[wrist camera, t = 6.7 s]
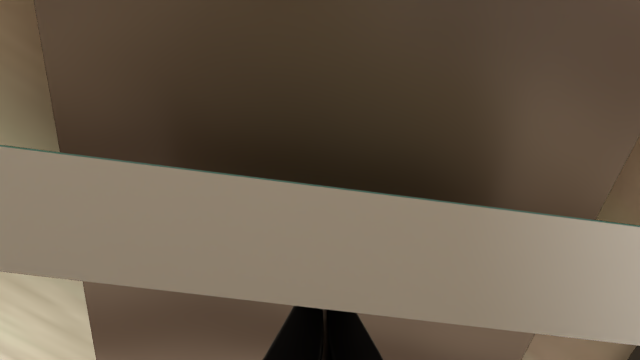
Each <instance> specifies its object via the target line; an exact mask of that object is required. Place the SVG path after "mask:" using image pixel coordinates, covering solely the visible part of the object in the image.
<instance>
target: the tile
mask: <svg viewBox="0 0 640 360" xmlns="http://www.w3.org/2000/svg"><path fill="white" fill-rule="evenodd" d="M0 272H9V273H18V274H26V275H35V276H44V277H52V278H61V279H69V280H78V281H87V282H95V283H104V284H112V285H121V286H130V287H138V288H147V289H155V290H164V291H173V292H181V293H190V294H199V295H207V296H216V297H224V298H233V299H242V300H250V301H259V302H267V303H276V304H285V305H293V306H302V307H311V308H319V309H328V310H336V311H345V312H354V313H362V314H371V315H379V316H388V317H397V318H405V319H414V320H423V321H431V322H440V323H448V324H457V325H466V326H474V327H483V328H491V329H500V330H509V331H517V332H526V333H534V334H543V335H552V336H560V337H569V338H578V339H586V340H595V341H603V342H612V343H621V344H629V345H638V346H640V226H639V225H631V224H623V223H615V222H607V221H599V220H591V219H583V218H575V217H567V216H559V215H551V214H543V213H536V212H528V211H520V210H512V209H504V208H496V207H488V206H480V205H472V204H464V203H456V202H448V201H440V200H433V199H425V198H417V197H409V196H401V195H393V194H385V193H377V192H369V191H361V190H353V189H345V188H337V187H330V186H322V185H314V184H306V183H298V182H290V181H282V180H274V179H266V178H258V177H250V176H242V175H234V174H227V173H219V172H211V171H203V170H195V169H187V168H179V167H171V166H163V165H155V164H147V163H139V162H131V161H123V160H116V159H108V158H100V157H92V156H84V155H76V154H68V153H60V152H52V151H44V150H36V149H28V148H20V147H13V146H5V145H0Z"/></svg>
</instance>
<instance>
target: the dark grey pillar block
mask: <svg viewBox="0 0 640 360" xmlns="http://www.w3.org/2000/svg"><path fill="white" fill-rule="evenodd" d="M628 360H640V346H637V347H636V348H635V350H634V351H633V353H632V354H631V355H630V357H629V358H628Z"/></svg>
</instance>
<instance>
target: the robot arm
mask: <svg viewBox="0 0 640 360" xmlns="http://www.w3.org/2000/svg"><path fill="white" fill-rule="evenodd" d="M263 360H384V359H383V358H382V356H381V354H380V352H379V351H378V349H377V347H376V345H375V344H374V342H373V340H372V338H371V337H370V335H369V333H368V331H367V330H366V328H365V326H364V325H363V323H362V321H361V319H360V318H359V316H358V314H357V313H354V312H345V311H336V310H328V309H319V308H311V307H302V306H293V308H292V310H291V311H290V313H289V315H288V317H287V318H286V320H285V322H284V323H283V325H282V327H281V329H280V330H279V332H278V334H277V336H276V337H275V339H274V341H273V342H272V344H271V346H270V348H269V349H268V351H267V353H266V354H265V356H264V358H263Z"/></svg>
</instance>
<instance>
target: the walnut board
mask: <svg viewBox="0 0 640 360" xmlns="http://www.w3.org/2000/svg"><path fill="white" fill-rule="evenodd" d="M34 5H35V11H36V16H37V22H38V28H39V34H40V39H41V45H42V51H43V57H44V62H45V68H46V74H47V79H48V85H49V91H50V97H51V102H52V108H53V114H54V120H55V125H56V131H57V137H58V143H59V148H60V153H68V154H76V155H84V156H92V157H100V158H108V159H116V160H123V161H131V162H139V163H147V164H155V165H163V166H171V167H179V168H187V169H195V170H203V171H211V172H219V173H227V174H234V175H242V176H250V177H258V178H266V179H274V180H282V181H290V182H298V183H306V184H314V185H322V186H330V187H337V188H345V189H353V190H361V191H369V192H377V193H385V194H393V195H401V196H409V197H417V198H425V199H433V200H440V201H448V202H456V203H464V204H472V205H480V206H488V207H496V208H504V209H512V210H520V211H528V212H536V213H543V214H551V215H559V216H567V217H575V218H583V219H591V220H595V219H596V217H597V215H598V214H599V212H600V210H601V208H602V206H603V204H604V202H605V200H606V198H607V196H608V195H609V193H610V191H611V189H612V187H613V185H614V183H615V181H616V179H617V178H618V176H619V174H620V172H621V170H622V168H623V166H624V164H625V162H626V160H627V159H628V157H629V155H630V153H631V151H632V149H633V147H634V145H635V143H636V141H637V140H638V138H639V136H640V0H34ZM83 286H84V292H85V298H86V304H87V309H88V315H89V321H90V327H91V332H92V338H93V344H94V349H95V355H96V360H263V358H264V356H265V354H266V353H267V351H268V349H269V348H270V346H271V344H272V342H273V341H274V339H275V337H276V336H277V334H278V332H279V330H280V329H281V327H282V325H283V323H284V322H285V320H286V318H287V317H288V315H289V313H290V311H291V310H292V308H293V305H285V304H276V303H267V302H259V301H250V300H242V299H233V298H224V297H216V296H207V295H199V294H190V293H181V292H173V291H164V290H155V289H147V288H138V287H130V286H121V285H112V284H104V283H95V282H87V281H83ZM357 314H358V316H359V318H360V319H361V321H362V323H363V325H364V326H365V328H366V330H367V331H368V333H369V335H370V337H371V338H372V340H373V342H374V344H375V345H376V347H377V349H378V351H379V352H380V354H381V356H382V358H383V359H384V360H522V358H523V356H524V354H525V352H526V350H527V348H528V346H529V344H530V342H531V341H532V339H533V337H534V335H535V334H534V333H526V332H517V331H509V330H500V329H491V328H483V327H474V326H466V325H457V324H448V323H440V322H431V321H423V320H414V319H405V318H397V317H388V316H379V315H371V314H362V313H357Z"/></svg>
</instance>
